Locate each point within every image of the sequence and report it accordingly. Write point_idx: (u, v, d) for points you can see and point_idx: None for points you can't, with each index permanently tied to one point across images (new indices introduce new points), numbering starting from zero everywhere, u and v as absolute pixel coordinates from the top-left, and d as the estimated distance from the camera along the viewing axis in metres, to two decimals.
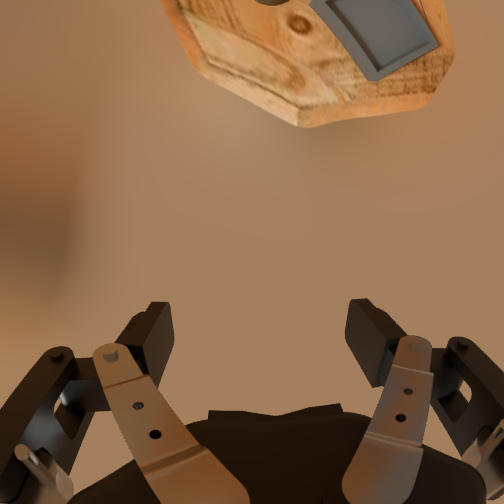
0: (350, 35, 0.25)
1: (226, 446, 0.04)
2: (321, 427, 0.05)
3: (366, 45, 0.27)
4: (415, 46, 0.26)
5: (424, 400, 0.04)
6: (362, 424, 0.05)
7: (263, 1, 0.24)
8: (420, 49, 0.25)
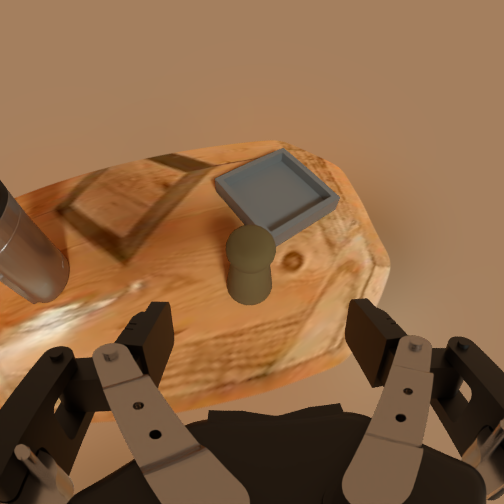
0: (303, 214, 0.39)
1: (226, 446, 0.04)
2: (321, 427, 0.05)
3: (304, 206, 0.43)
4: (289, 168, 0.47)
5: (424, 400, 0.04)
6: (362, 424, 0.05)
7: (269, 289, 0.36)
8: (294, 162, 0.45)
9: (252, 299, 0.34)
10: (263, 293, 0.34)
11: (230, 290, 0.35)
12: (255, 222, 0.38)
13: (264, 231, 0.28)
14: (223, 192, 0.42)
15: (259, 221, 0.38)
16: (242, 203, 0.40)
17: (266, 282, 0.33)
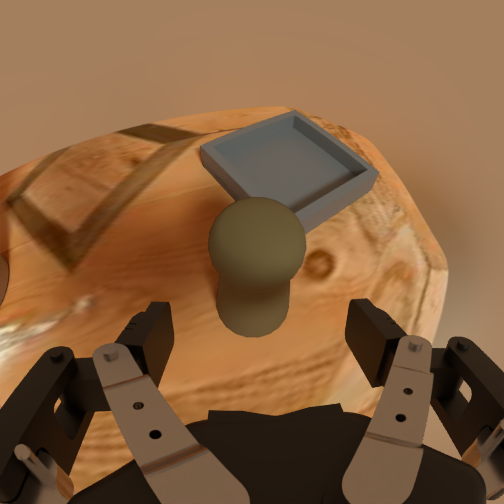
0: (332, 192, 0.25)
1: (226, 446, 0.04)
2: (321, 427, 0.05)
3: (330, 184, 0.28)
4: (304, 136, 0.33)
5: (424, 400, 0.04)
6: (362, 424, 0.05)
7: (286, 311, 0.21)
8: (312, 126, 0.31)
9: (258, 330, 0.20)
10: (277, 320, 0.20)
11: (221, 314, 0.21)
12: None
13: (284, 209, 0.14)
14: (212, 164, 0.28)
15: None
16: (240, 177, 0.26)
17: (284, 302, 0.19)
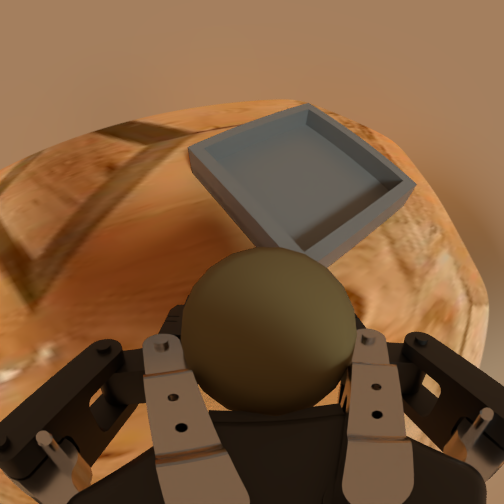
0: (364, 213, 0.18)
1: (226, 446, 0.04)
2: (321, 427, 0.05)
3: (356, 198, 0.22)
4: (320, 135, 0.26)
5: (395, 393, 0.05)
6: None
7: None
8: (331, 123, 0.24)
9: None
10: None
11: None
12: (268, 230, 0.17)
13: (322, 276, 0.07)
14: (203, 171, 0.21)
15: (277, 228, 0.17)
16: (240, 191, 0.19)
17: None
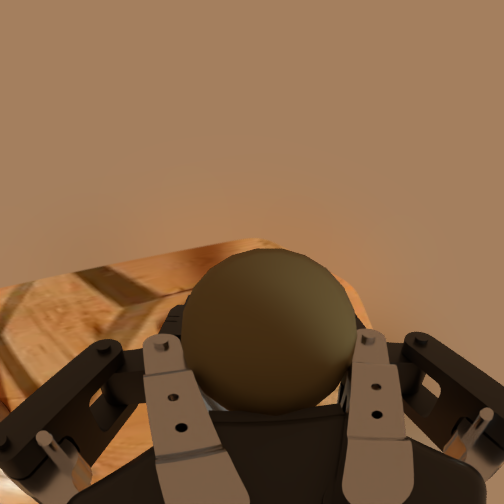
0: None
1: (226, 446, 0.04)
2: (321, 427, 0.05)
3: None
4: None
5: (395, 393, 0.05)
6: None
7: None
8: None
9: None
10: None
11: None
12: None
13: (321, 277, 0.07)
14: None
15: None
16: None
17: None
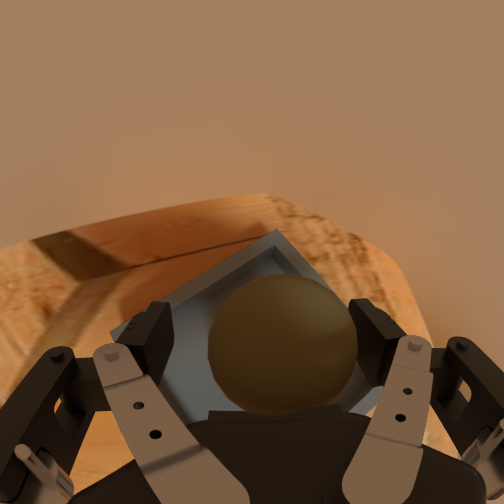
0: None
1: (226, 446, 0.04)
2: (321, 427, 0.05)
3: None
4: None
5: (424, 400, 0.04)
6: (362, 424, 0.05)
7: None
8: (303, 274, 0.19)
9: None
10: None
11: None
12: None
13: (330, 302, 0.08)
14: None
15: None
16: None
17: None
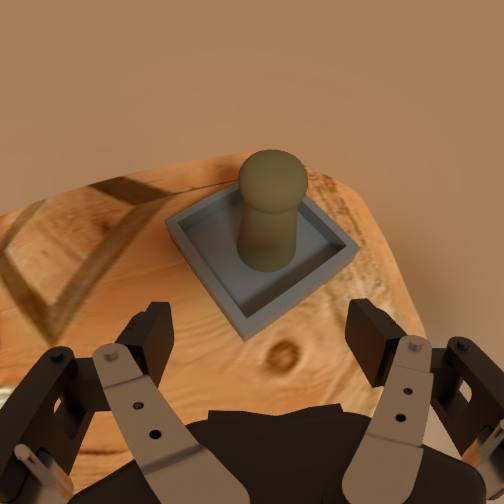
0: (301, 282, 0.24)
1: (226, 446, 0.04)
2: (321, 427, 0.05)
3: (304, 261, 0.27)
4: None
5: (424, 400, 0.04)
6: (362, 424, 0.05)
7: (294, 250, 0.27)
8: None
9: (272, 262, 0.26)
10: (287, 254, 0.25)
11: (242, 251, 0.26)
12: (221, 301, 0.23)
13: (292, 156, 0.19)
14: (177, 242, 0.27)
15: (228, 299, 0.23)
16: (202, 266, 0.25)
17: (292, 236, 0.24)
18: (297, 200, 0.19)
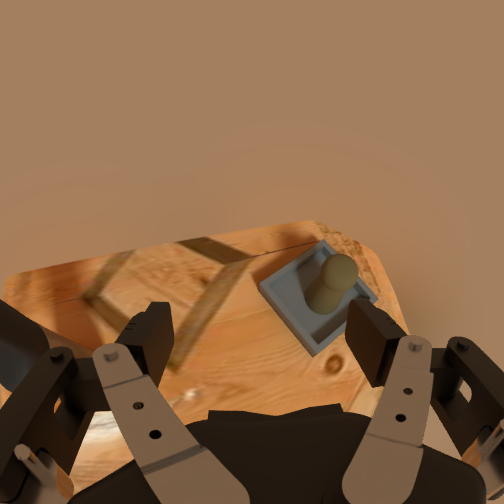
0: None
1: (226, 446, 0.04)
2: (321, 427, 0.05)
3: (344, 307, 0.43)
4: None
5: (424, 400, 0.04)
6: (362, 424, 0.05)
7: None
8: None
9: (328, 310, 0.41)
10: (337, 305, 0.41)
11: (310, 303, 0.42)
12: (303, 335, 0.39)
13: (351, 259, 0.35)
14: (268, 297, 0.43)
15: (307, 334, 0.39)
16: (289, 314, 0.40)
17: (342, 296, 0.40)
18: (353, 285, 0.35)
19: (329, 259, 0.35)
